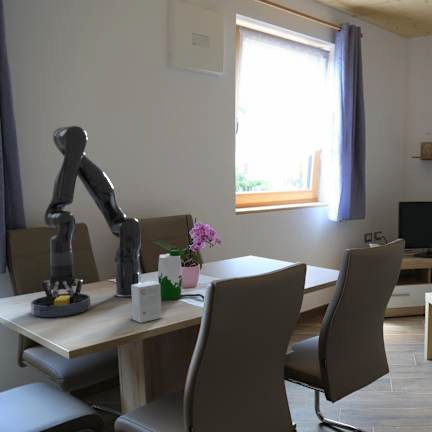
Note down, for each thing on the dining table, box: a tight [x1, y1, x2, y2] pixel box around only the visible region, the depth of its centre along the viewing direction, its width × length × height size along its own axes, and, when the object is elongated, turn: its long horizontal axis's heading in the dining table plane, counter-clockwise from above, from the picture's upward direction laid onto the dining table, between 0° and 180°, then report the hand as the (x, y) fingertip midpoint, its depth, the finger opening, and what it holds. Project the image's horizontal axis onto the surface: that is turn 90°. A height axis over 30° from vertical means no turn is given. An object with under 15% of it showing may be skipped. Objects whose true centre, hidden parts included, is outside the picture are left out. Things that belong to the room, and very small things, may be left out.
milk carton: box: [157, 249, 183, 301], centre depth 229 cm, size 9×9×20 cm
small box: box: [131, 280, 163, 324], centre depth 199 cm, size 8×6×13 cm
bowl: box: [30, 292, 91, 318], centre depth 208 cm, size 19×19×4 cm
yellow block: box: [54, 296, 70, 306], centre depth 210 cm, size 7×5×4 cm, turn 14°
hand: (64, 306), depth 210 cm, fingers closed on yellow block, 4 cm apart
